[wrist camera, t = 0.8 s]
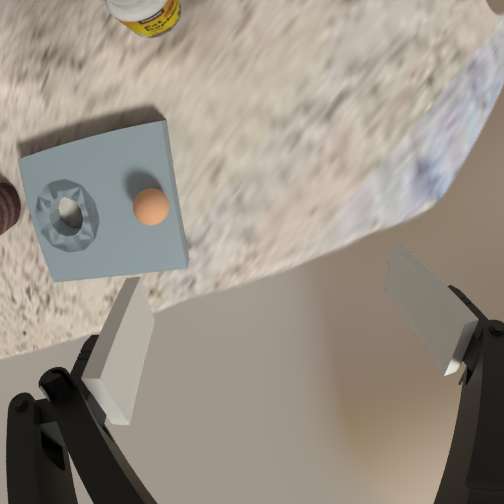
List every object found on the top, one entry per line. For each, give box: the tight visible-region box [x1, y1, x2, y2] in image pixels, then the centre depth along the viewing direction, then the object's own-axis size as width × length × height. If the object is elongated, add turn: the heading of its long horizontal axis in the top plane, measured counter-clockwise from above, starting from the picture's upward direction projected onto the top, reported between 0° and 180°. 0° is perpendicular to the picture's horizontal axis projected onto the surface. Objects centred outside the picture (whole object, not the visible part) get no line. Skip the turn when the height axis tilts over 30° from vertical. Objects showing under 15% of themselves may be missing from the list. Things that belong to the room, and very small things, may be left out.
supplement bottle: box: [106, 0, 181, 38], centre depth 20 cm, size 6×6×10 cm
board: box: [18, 120, 189, 282], centre depth 32 cm, size 16×18×2 cm
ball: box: [133, 188, 169, 225], centre depth 29 cm, size 4×4×4 cm
